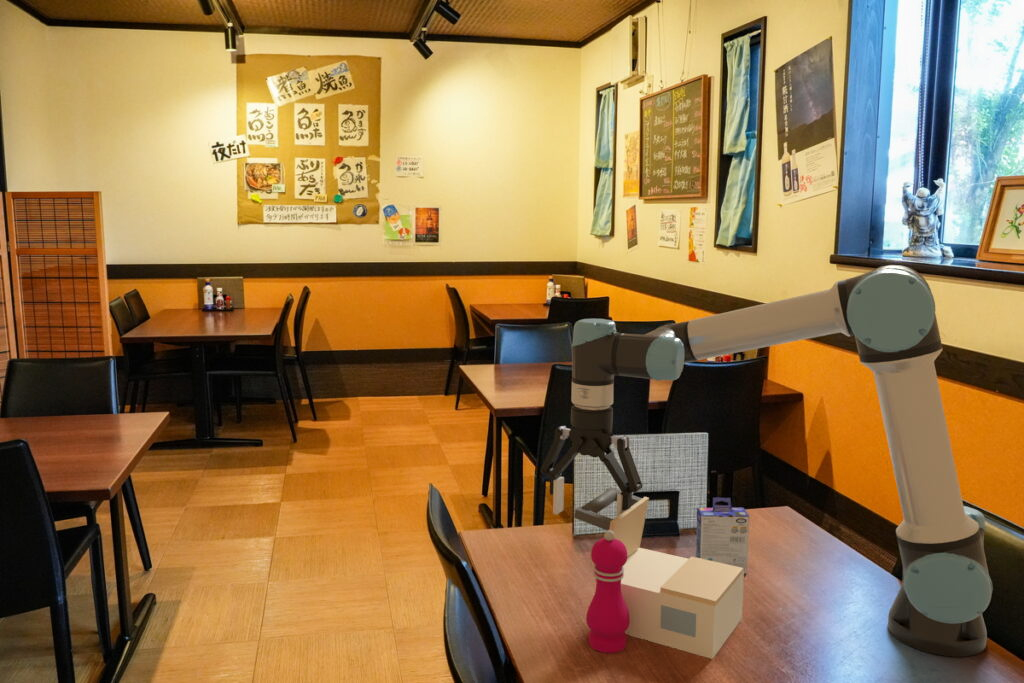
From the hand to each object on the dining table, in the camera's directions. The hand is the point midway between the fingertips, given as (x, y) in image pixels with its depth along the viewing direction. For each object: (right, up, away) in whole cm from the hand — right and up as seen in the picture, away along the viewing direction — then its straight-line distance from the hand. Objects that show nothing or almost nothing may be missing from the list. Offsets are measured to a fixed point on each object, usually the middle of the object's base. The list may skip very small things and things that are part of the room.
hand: (589, 519), depth 156 cm
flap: (+7, -2, -4) cm, 8 cm away
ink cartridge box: (+28, -14, +16) cm, 35 cm away
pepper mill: (+2, -18, -13) cm, 23 cm away
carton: (+14, -17, -6) cm, 23 cm away
